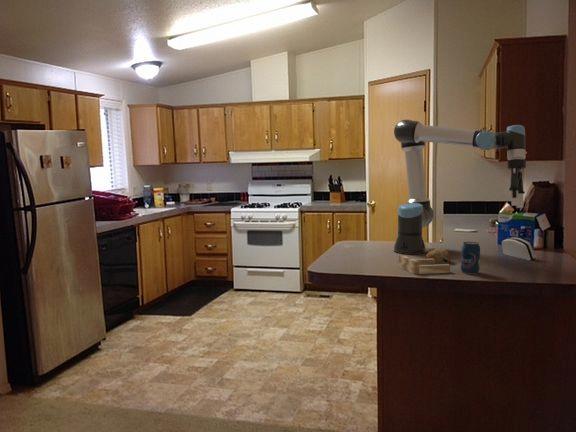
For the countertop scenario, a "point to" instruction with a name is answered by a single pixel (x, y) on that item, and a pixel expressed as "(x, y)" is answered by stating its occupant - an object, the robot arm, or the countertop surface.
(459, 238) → the countertop surface
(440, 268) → the u bracket
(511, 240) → the white napkin holder
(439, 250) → the bread roll
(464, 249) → the soda can
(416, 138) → the robot arm
